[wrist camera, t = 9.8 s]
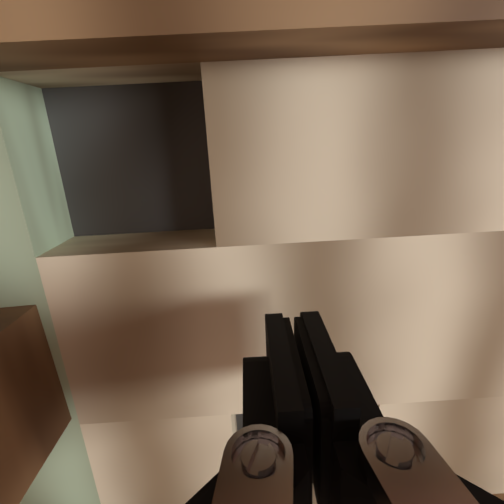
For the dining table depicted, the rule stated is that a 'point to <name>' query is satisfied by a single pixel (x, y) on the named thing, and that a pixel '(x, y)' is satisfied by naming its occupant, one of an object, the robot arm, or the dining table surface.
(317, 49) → the box
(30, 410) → the walnut block
